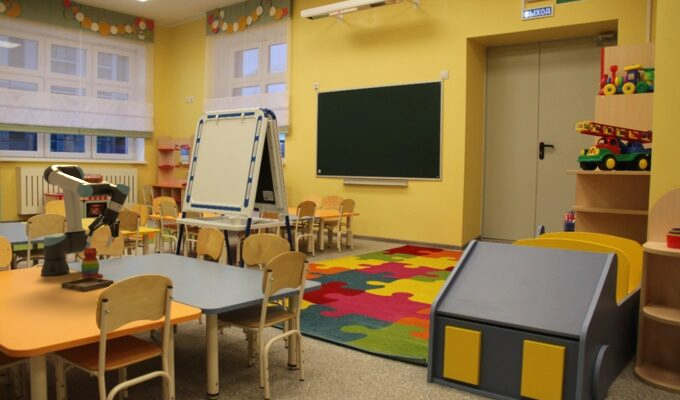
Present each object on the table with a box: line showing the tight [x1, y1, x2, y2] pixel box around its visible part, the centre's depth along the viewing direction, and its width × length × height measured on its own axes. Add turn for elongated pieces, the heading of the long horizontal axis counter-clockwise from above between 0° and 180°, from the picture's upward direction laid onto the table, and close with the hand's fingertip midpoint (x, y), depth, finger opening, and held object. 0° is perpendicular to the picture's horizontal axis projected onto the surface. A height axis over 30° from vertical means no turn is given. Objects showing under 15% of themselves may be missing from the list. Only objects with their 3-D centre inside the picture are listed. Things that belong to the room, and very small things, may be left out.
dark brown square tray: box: [60, 277, 114, 292], centre depth 296 cm, size 18×18×2 cm
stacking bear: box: [80, 247, 104, 279], centre depth 316 cm, size 11×10×18 cm
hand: (97, 244), depth 310 cm, fingers open, 13 cm apart
